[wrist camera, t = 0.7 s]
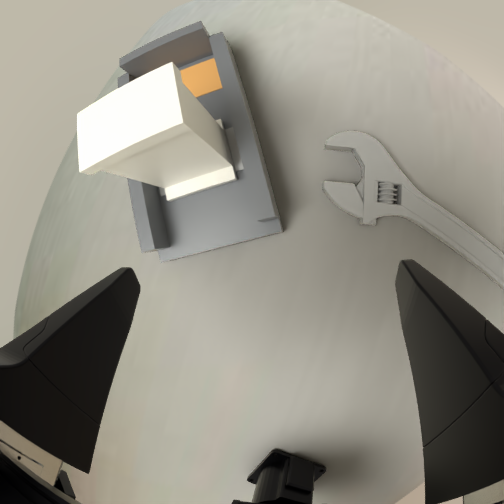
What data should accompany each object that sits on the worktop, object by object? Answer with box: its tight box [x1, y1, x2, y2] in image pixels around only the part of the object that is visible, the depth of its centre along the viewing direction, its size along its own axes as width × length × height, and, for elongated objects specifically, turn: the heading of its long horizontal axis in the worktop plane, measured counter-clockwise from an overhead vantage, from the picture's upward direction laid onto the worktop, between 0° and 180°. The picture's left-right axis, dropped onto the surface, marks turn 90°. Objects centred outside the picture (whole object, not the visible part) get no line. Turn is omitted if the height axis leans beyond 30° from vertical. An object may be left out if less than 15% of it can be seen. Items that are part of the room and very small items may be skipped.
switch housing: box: [118, 21, 283, 263], centre depth 20 cm, size 18×10×6 cm, turn 14°
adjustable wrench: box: [322, 131, 504, 290], centre depth 19 cm, size 25×6×2 cm, turn 59°
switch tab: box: [77, 62, 237, 201], centre depth 16 cm, size 5×6×10 cm
